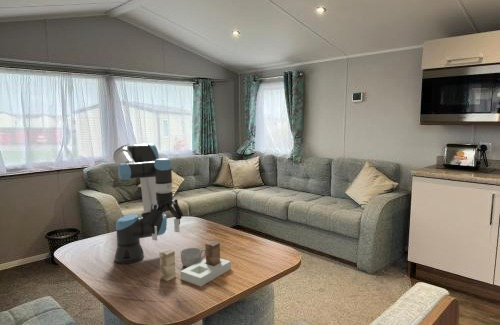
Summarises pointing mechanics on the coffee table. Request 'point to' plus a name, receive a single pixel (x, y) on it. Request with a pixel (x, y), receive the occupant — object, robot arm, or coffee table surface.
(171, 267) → the pin
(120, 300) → the coffee table surface
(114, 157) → the robot arm
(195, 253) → the teacup
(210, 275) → the bore block
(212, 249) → the walnut pin
